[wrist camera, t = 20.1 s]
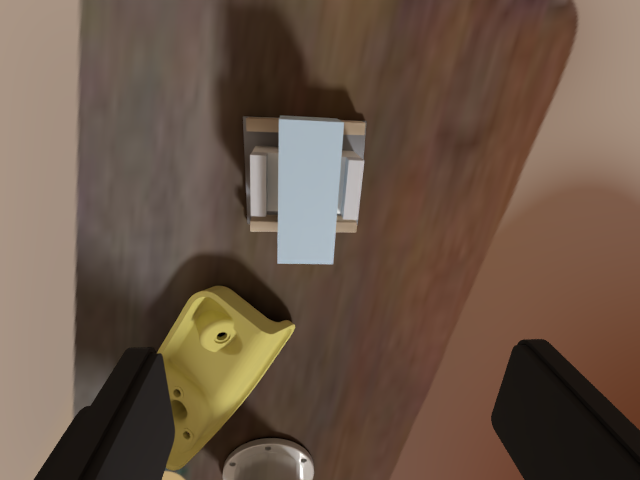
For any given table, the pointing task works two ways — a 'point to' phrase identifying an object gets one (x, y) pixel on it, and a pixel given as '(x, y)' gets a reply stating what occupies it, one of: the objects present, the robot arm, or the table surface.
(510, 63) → the table surface
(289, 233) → the light blue rectangular block
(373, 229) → the table surface
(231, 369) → the plastic component
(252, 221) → the assembly jig
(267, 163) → the white i-beam block
